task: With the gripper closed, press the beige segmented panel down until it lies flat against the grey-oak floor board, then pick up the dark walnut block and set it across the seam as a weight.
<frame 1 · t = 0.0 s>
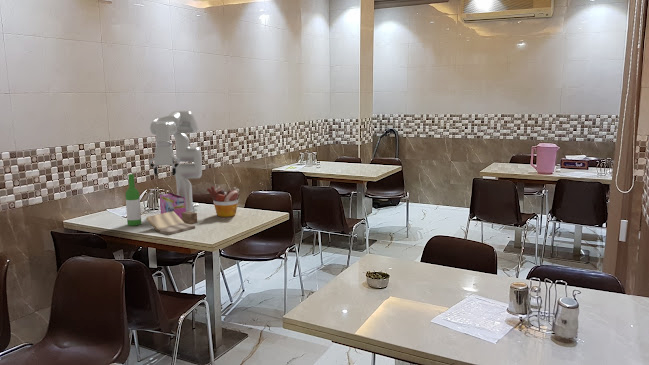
hand: (165, 175, 283), 31 cm above the table, tool pointing down, fingers open, 9 cm apart
board: (177, 230, 286), on the table
bucket of meat: (225, 215, 321), on the table
wine bottle: (134, 224, 299), on the table
walnut block: (189, 222, 304), on the table
gum box: (173, 217, 318), on the table
beige segmented panel: (165, 221, 291), point 4 cm above the table, hinge at 30.0°
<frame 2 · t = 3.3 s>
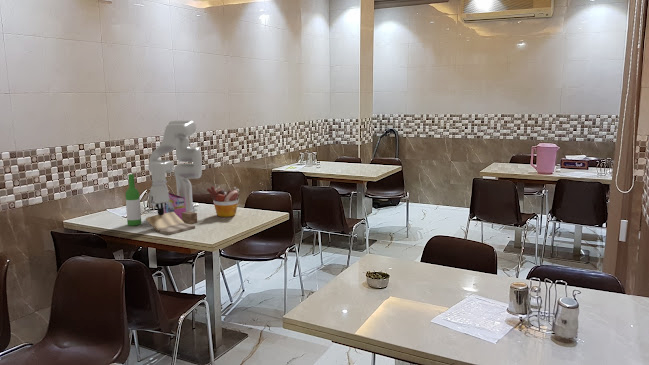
hand: (160, 214, 293), 7 cm above the table, tool pointing down, fingers closed
beige segmented panel: (165, 221, 291), point 4 cm above the table, hinge at 28.3°, touching gripper
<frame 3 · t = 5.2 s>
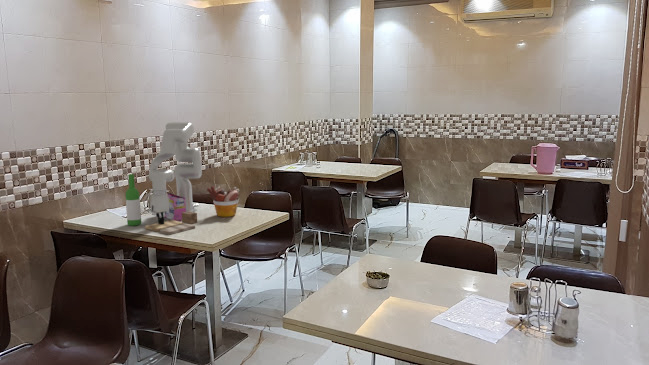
hand: (161, 223, 294), 2 cm above the table, tool pointing down, fingers closed
beige segmented panel: (165, 225, 292), point 1 cm above the table, hinge at 1.0°, touching gripper
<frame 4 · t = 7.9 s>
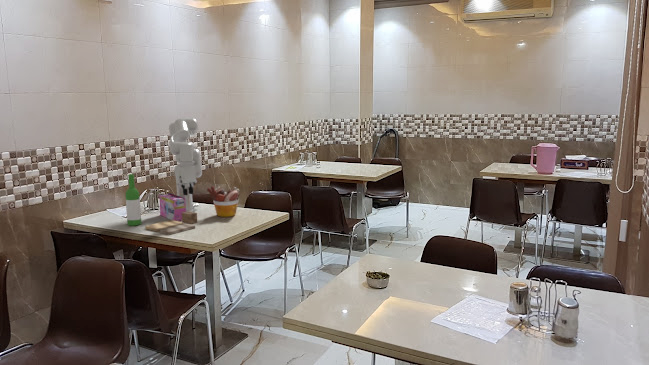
hand: (188, 194, 301), 17 cm above the table, tool pointing down, fingers open, 3 cm apart
beige segmented panel: (165, 225, 292), point 1 cm above the table, hinge at 1.0°
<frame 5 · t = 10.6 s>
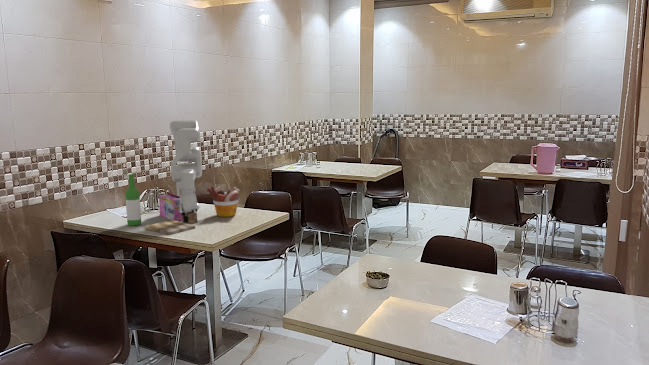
hand: (189, 221, 304), 1 cm above the table, tool pointing down, fingers closed on walnut block, 5 cm apart
walnut block: (189, 222, 304), on the table, touching gripper
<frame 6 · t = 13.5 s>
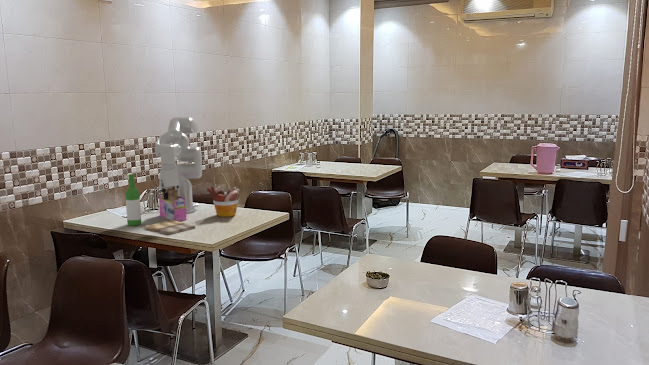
hand: (170, 198, 286), 18 cm above the table, tool pointing down, fingers closed on walnut block, 5 cm apart
walnut block: (170, 199, 287), point 17 cm above the table, touching gripper
when the fingers open (4 cm above the table, at t = 16.6 s): walnut block drops 1 cm, resting on board, beige segmented panel.
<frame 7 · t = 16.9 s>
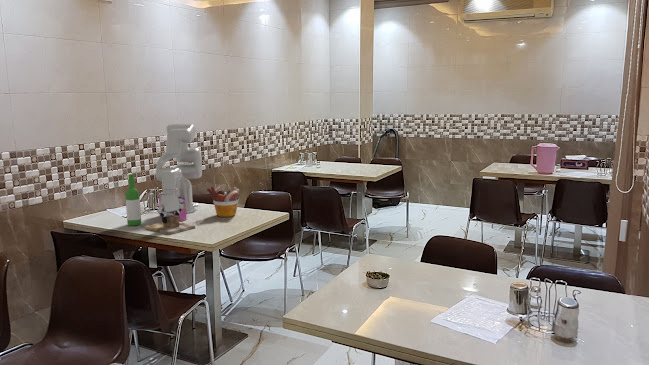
hand: (171, 221, 288), 4 cm above the table, tool pointing down, fingers open, 8 cm apart
walnut block: (171, 226, 289), point 2 cm above the table, touching board, beige segmented panel
beige segmented panel: (165, 225, 292), point 1 cm above the table, hinge at 1.0°, touching walnut block
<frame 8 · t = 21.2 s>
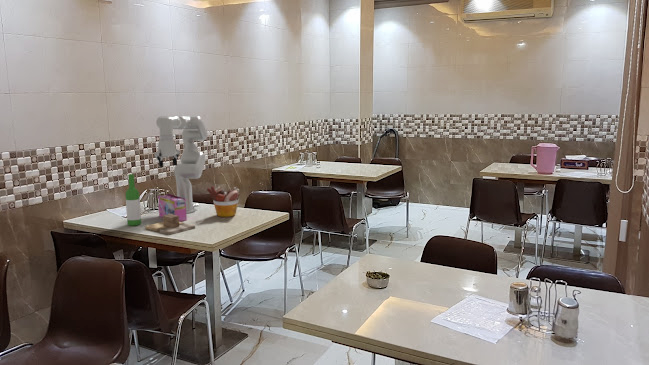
hand: (168, 166, 304), 33 cm above the table, tool pointing down, fingers open, 9 cm apart
at the end: beige segmented panel at +1° (first picture: +30°); walnut block inside the target area on the table beside the board (0.5 cm from its centre), point 1.6 cm above the table; walnut block tilted 1° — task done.
